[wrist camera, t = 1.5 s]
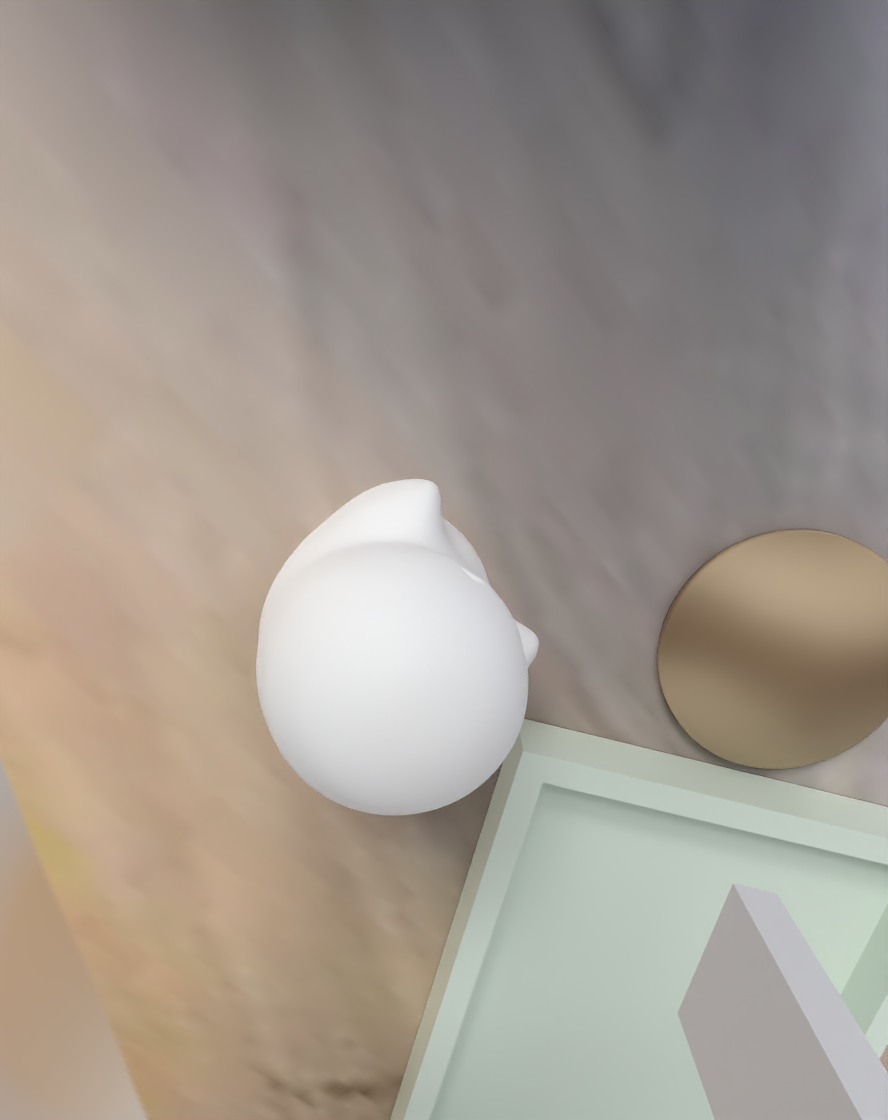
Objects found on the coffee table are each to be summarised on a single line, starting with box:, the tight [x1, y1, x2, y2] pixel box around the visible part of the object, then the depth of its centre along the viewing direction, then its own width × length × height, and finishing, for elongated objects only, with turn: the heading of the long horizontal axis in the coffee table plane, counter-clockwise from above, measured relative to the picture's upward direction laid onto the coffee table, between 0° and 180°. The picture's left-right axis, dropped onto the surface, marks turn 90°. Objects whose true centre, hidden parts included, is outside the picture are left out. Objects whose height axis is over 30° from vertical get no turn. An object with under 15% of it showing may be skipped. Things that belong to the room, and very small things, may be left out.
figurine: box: [256, 479, 539, 815], centre depth 19 cm, size 7×8×12 cm
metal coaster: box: [657, 529, 888, 769], centre depth 25 cm, size 9×9×1 cm
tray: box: [390, 719, 888, 1120], centre depth 29 cm, size 22×17×2 cm
